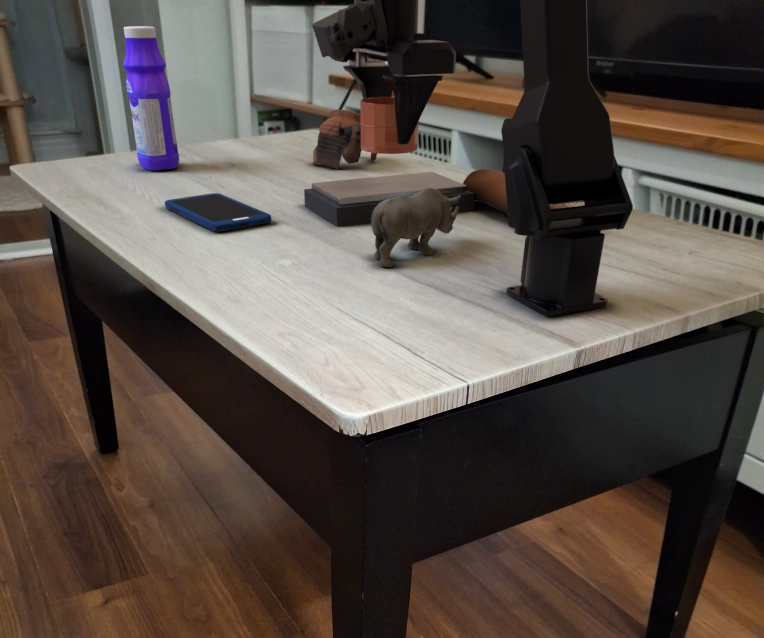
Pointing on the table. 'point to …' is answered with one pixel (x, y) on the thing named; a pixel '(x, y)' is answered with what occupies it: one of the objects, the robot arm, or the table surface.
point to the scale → (377, 195)
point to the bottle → (149, 100)
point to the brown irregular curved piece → (339, 139)
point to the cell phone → (217, 212)
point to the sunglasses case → (491, 189)
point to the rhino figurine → (411, 221)
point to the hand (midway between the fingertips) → (389, 139)
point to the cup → (382, 127)
